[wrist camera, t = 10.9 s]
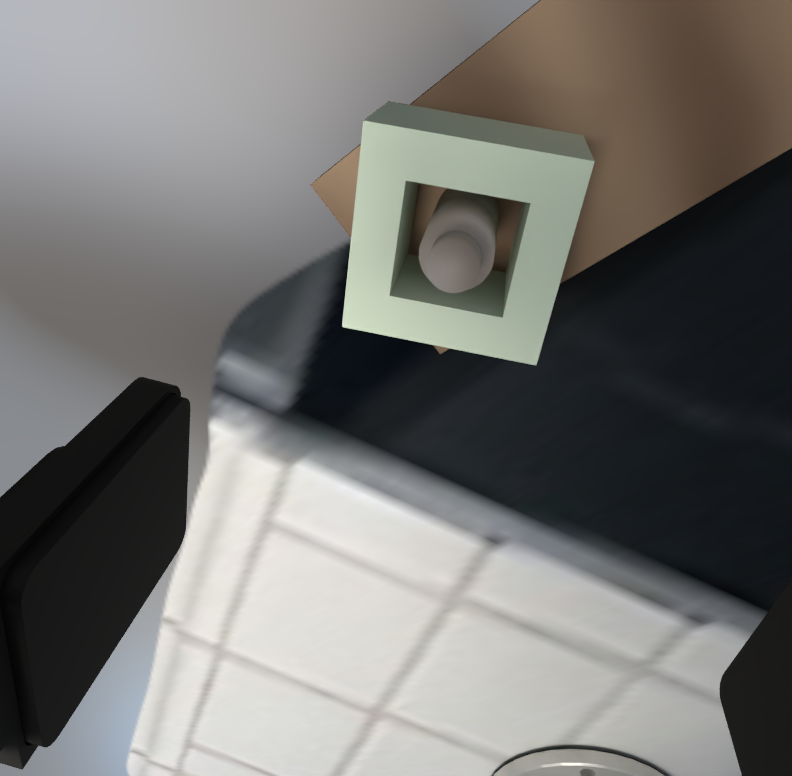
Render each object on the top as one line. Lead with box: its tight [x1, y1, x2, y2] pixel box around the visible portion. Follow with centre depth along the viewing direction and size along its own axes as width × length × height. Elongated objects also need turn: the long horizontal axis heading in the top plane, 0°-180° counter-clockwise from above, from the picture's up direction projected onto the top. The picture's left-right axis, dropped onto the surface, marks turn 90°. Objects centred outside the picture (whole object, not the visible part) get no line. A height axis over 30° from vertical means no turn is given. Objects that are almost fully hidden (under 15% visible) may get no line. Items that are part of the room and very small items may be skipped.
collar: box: [342, 101, 595, 365], centre depth 21 cm, size 6×6×4 cm
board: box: [311, 0, 792, 354], centre depth 18 cm, size 23×8×8 cm, turn 127°
